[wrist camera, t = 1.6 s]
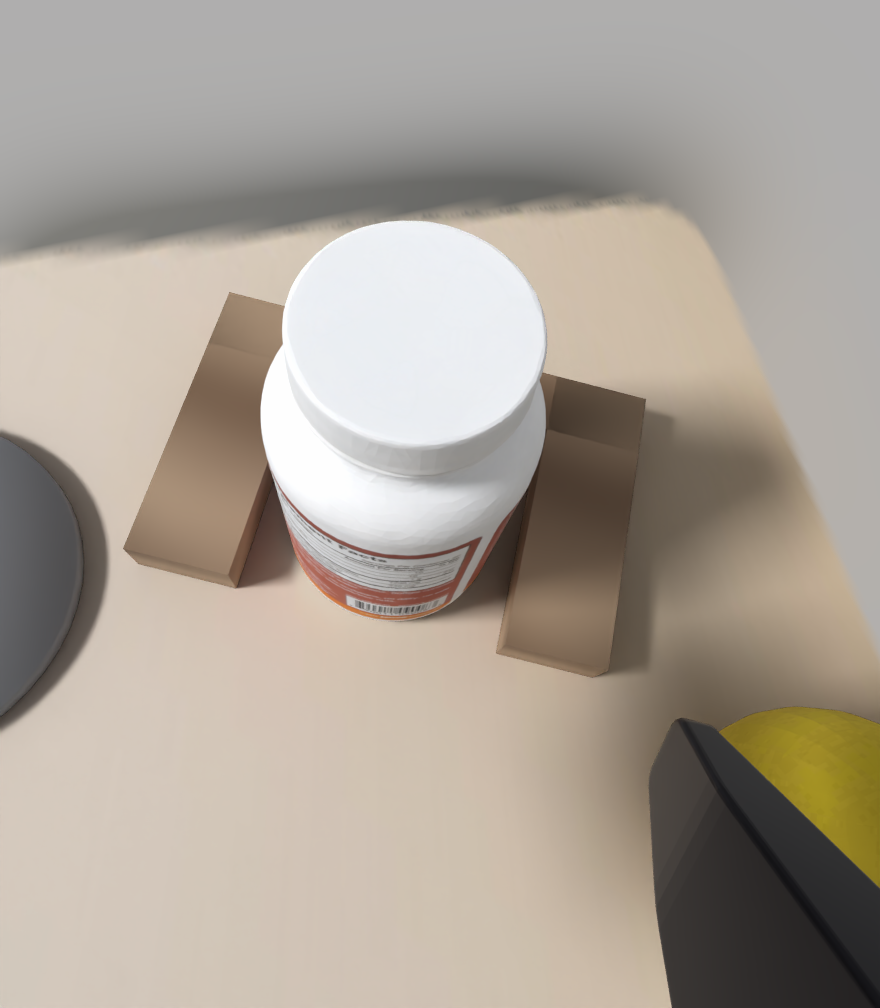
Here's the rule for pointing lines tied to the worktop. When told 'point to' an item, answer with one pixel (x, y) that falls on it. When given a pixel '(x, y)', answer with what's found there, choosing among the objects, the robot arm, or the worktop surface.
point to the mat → (34, 571)
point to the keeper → (545, 525)
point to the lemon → (821, 772)
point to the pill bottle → (404, 413)
